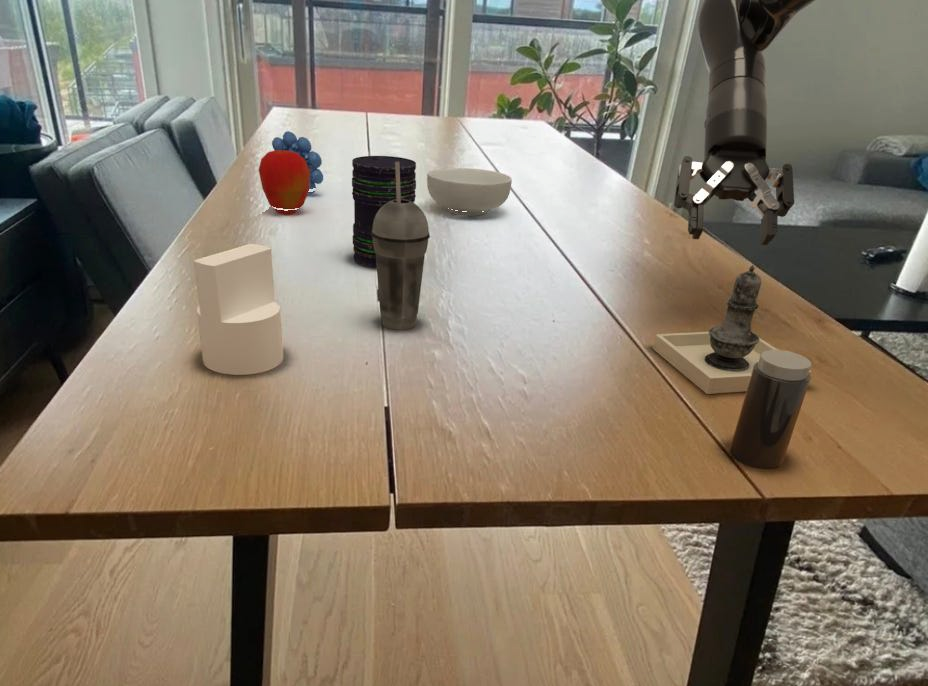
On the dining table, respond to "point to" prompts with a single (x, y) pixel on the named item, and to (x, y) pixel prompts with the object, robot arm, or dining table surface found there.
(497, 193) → the cereal bowl
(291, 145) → the grapes
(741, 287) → the salt shaker
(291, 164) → the apple
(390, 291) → the beverage cup
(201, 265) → the cylinder with rectangular tab
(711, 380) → the ivory tray
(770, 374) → the black pepper shaker
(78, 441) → the dining table surface
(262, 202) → the dining table surface
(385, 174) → the storage jar
